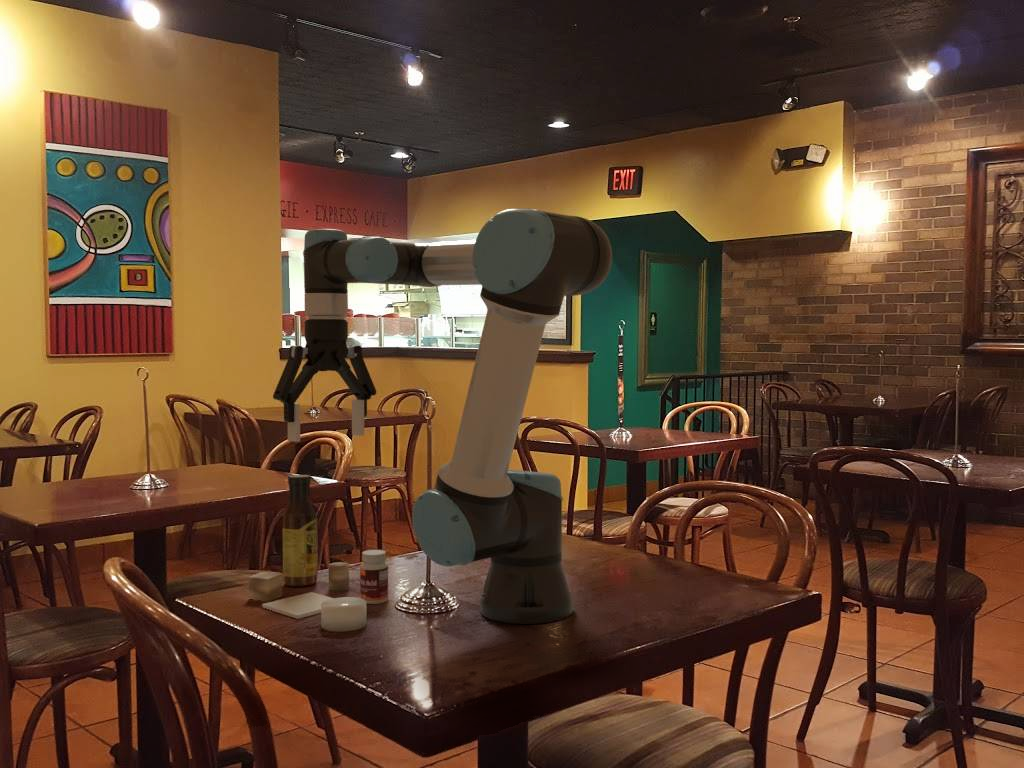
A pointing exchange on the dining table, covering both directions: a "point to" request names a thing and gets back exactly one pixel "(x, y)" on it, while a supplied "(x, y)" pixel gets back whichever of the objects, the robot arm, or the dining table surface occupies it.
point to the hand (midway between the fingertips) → (326, 438)
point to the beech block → (265, 586)
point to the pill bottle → (374, 577)
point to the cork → (338, 576)
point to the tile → (298, 605)
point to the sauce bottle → (300, 534)
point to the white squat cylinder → (343, 614)
